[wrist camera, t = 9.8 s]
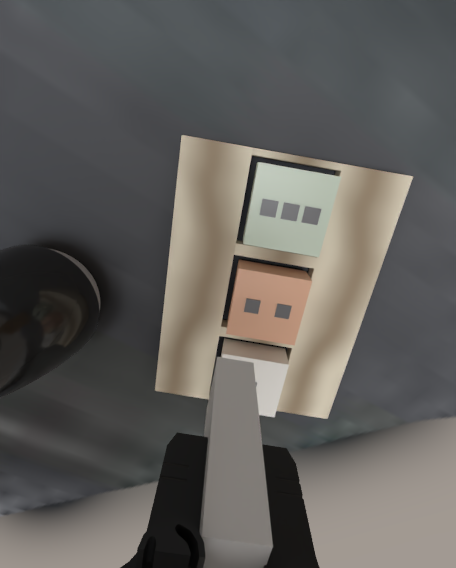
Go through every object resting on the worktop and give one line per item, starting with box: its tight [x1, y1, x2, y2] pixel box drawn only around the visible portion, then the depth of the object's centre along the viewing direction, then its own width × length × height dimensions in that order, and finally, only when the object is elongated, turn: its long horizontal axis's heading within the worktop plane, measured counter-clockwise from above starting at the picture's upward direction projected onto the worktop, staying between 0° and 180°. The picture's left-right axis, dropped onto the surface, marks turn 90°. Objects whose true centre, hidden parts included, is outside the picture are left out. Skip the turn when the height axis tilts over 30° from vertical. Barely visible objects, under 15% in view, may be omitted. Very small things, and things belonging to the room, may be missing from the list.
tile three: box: [243, 162, 341, 257], centre depth 24 cm, size 6×6×3 cm
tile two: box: [226, 260, 312, 345], centre depth 27 cm, size 6×6×3 cm
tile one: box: [221, 338, 289, 417], centre depth 30 cm, size 6×6×3 cm
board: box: [155, 135, 413, 419], centre depth 28 cm, size 18×24×2 cm
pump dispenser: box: [0, 245, 100, 398], centre depth 23 cm, size 10×10×15 cm
